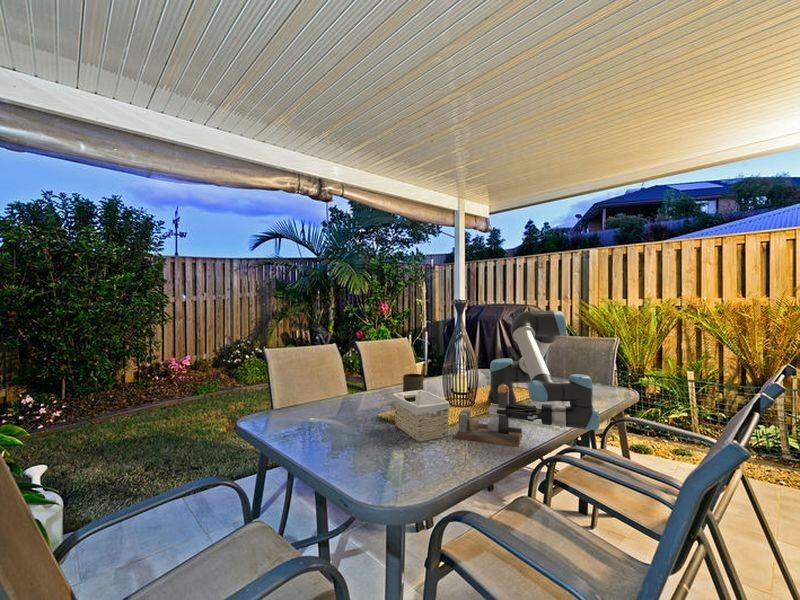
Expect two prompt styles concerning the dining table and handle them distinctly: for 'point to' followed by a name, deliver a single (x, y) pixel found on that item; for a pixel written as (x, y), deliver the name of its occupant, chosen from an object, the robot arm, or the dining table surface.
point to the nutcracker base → (486, 432)
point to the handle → (503, 422)
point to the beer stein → (412, 384)
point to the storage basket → (421, 415)
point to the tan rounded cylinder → (472, 424)
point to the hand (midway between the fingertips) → (489, 408)
